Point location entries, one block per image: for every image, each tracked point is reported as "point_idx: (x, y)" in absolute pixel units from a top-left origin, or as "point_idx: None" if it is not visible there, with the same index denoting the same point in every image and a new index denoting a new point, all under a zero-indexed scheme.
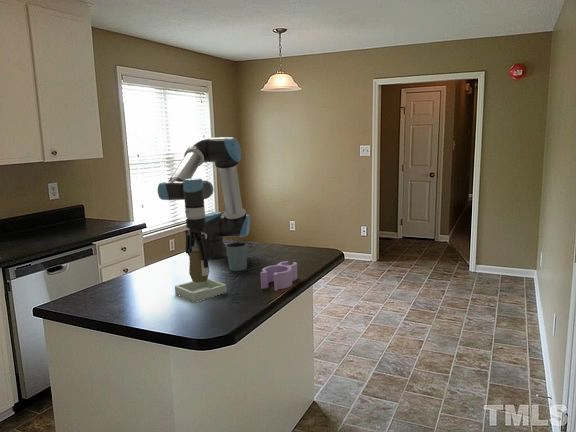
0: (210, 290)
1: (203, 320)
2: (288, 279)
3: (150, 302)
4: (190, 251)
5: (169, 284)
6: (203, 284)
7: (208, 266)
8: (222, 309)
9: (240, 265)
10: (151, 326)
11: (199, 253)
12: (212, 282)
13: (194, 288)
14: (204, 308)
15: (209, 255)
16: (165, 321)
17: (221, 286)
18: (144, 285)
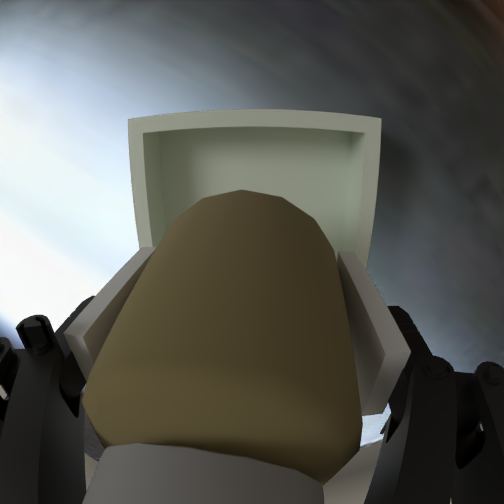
0: (369, 239)
1: (468, 352)
2: None
3: None
4: (82, 439)
5: (39, 247)
6: (157, 148)
7: (295, 224)
8: (477, 272)
9: None
10: (370, 435)
11: (328, 479)
12: (232, 126)
13: (167, 210)
14: (420, 311)
15: (496, 402)
16: (379, 414)
17: (378, 157)
18: (20, 308)
